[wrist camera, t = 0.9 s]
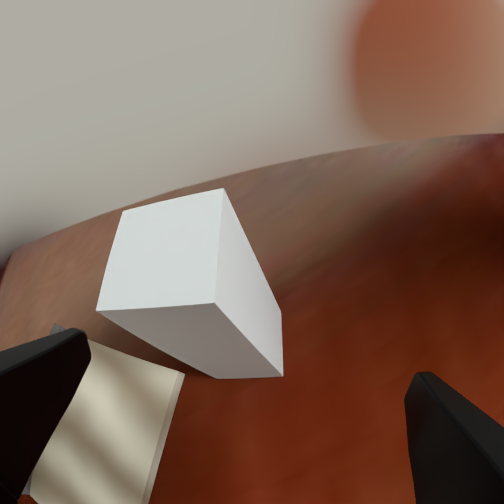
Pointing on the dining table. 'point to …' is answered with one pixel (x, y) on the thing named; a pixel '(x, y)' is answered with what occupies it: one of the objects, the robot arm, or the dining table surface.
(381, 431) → the dining table surface
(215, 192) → the grey carton
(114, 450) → the shelf board
